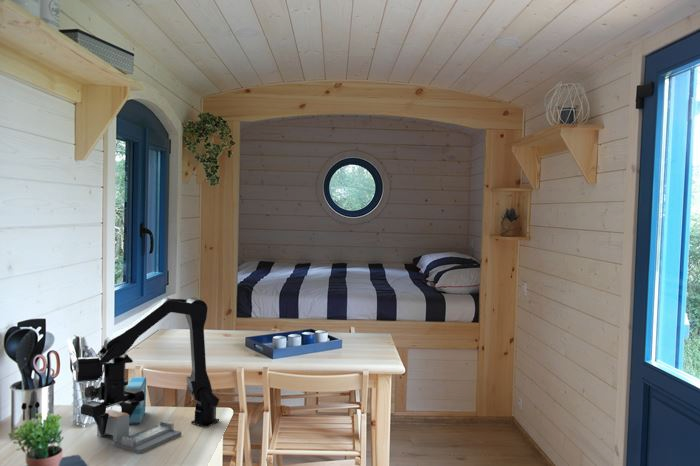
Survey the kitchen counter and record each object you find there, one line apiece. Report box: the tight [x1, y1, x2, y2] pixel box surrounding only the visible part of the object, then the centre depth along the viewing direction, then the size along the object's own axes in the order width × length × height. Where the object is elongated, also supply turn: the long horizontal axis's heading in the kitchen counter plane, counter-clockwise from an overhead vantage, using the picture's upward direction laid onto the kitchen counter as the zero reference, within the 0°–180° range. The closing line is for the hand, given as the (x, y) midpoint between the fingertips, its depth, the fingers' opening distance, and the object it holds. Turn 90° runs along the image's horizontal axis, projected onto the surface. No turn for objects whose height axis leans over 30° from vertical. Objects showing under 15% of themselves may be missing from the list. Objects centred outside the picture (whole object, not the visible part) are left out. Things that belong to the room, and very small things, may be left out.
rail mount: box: [113, 420, 182, 455], centre depth 168 cm, size 16×10×3 cm, turn 153°
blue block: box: [125, 376, 147, 425], centre depth 185 cm, size 12×4×12 cm, turn 12°
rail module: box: [96, 408, 130, 442], centre depth 170 cm, size 4×8×7 cm, turn 63°
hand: (113, 431), depth 170 cm, fingers open, 7 cm apart
